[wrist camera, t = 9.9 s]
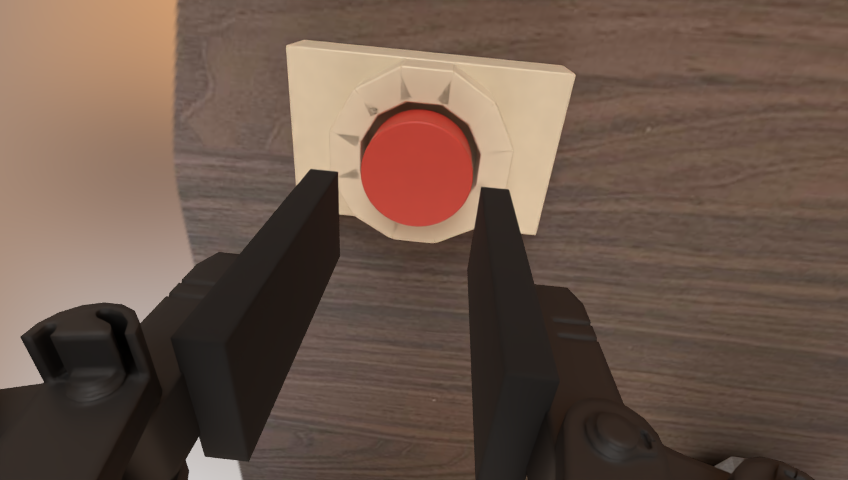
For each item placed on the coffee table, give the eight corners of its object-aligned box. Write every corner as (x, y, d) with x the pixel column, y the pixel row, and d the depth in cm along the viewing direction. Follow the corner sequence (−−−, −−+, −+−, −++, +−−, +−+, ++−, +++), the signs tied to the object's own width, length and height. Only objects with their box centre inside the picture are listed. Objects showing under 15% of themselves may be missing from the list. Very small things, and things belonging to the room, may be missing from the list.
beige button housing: (311, 191, 22) (283, 229, 18) (303, 39, 18) (266, 50, 15) (528, 214, 21) (542, 257, 18) (563, 65, 18) (589, 82, 14)
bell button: (367, 202, 18) (359, 221, 16) (369, 103, 16) (360, 115, 14) (464, 212, 18) (465, 233, 16) (478, 114, 16) (481, 127, 14)
